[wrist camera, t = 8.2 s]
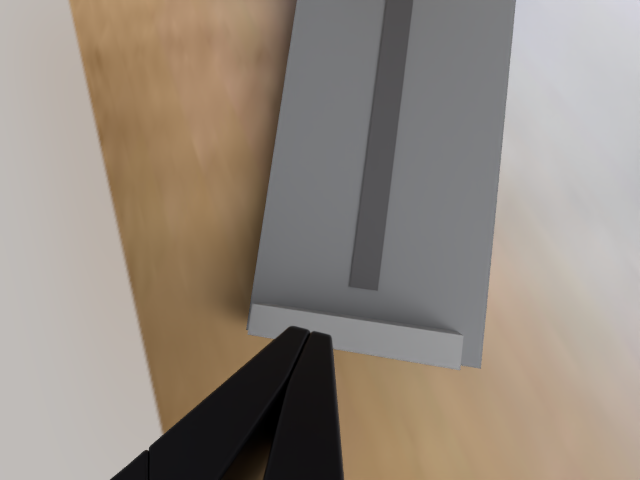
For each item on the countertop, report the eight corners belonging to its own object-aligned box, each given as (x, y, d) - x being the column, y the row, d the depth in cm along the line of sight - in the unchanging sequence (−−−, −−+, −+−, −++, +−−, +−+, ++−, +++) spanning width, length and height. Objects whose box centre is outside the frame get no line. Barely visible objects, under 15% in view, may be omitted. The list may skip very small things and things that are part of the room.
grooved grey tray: (474, 362, 20) (489, 378, 15) (261, 327, 22) (223, 332, 18) (518, -90, 22) (541, -184, 18) (322, -79, 24) (302, -159, 20)
